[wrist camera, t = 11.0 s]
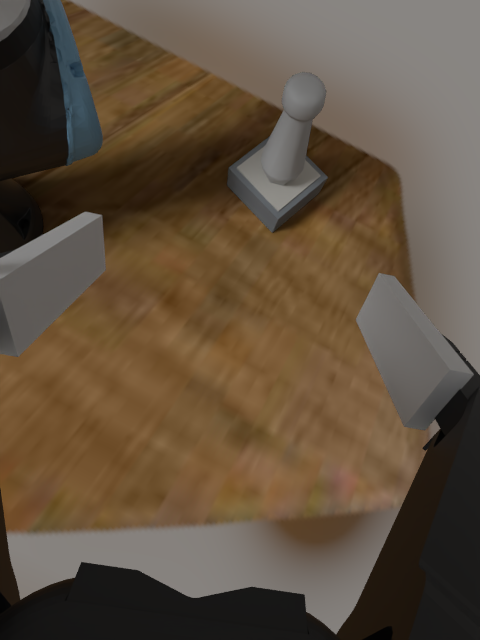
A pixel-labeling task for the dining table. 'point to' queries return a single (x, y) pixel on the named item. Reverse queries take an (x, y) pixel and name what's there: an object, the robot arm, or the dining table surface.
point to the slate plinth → (272, 188)
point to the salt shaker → (293, 128)
